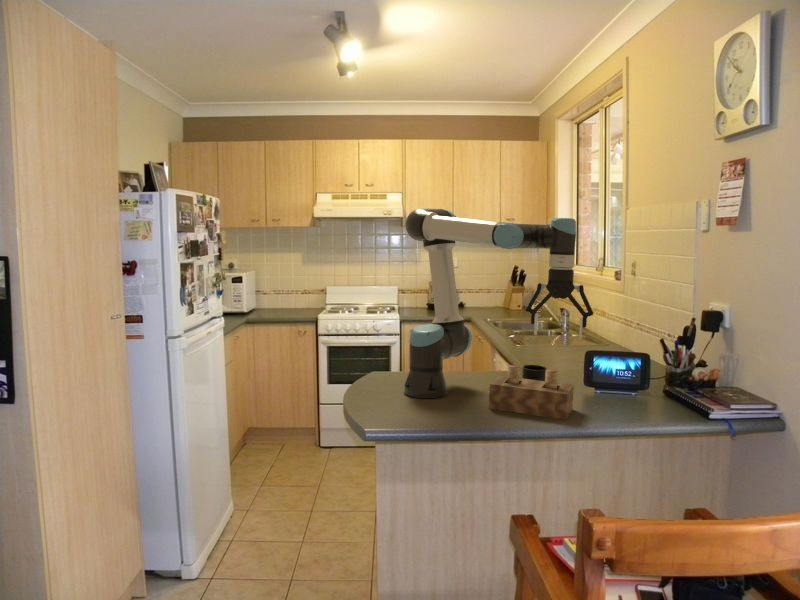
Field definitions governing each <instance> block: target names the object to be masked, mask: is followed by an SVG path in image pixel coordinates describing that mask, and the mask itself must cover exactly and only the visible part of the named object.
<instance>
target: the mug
mask: <svg viewBox="0 0 800 600" xmlns="http://www.w3.org/2000/svg"><path fill="white" fill-rule="evenodd" d="M521 368H522V371H521V373H522V374H521V377H522V378H523V379H531V380H539V381H545V377H546V370H548V369H547V367H545V366H542V365H539V364H538V365H537V364H524V365H523V366H522V367H521Z"/></svg>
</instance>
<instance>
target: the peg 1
mask: <svg viewBox="0 0 800 600" xmlns="http://www.w3.org/2000/svg"><path fill="white" fill-rule="evenodd" d="M507 377H508V384H516V385H519V378H520V366H519V365H508V366H507Z"/></svg>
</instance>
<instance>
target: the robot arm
mask: <svg viewBox="0 0 800 600" xmlns="http://www.w3.org/2000/svg"><path fill="white" fill-rule="evenodd" d="M405 231H406V232H407V234H408V236H409V237H410V238H411V239H413V240H415V241H417V242H422V243H423V245H422V246H423V249H424V250H425V251H426V252H428V259H429V268H430V277H431V278H430V280H431V286H432V287H431V288H432V296H433V305H434V315H435V317H434V318H433V320H432V322H431V323H426V324H420V325H416V326H414V327H412V329H411V330H410V333H409V341H408V342H409V365H408V366H409V369H408V374H407V377H406V380H405V382H404V385H403V392H404V394H405V395H406V396H409V397H412V398H418V399H437V398H442V397H445V396H446V395H448V384H447V381H446V379H445V378H446V377H445V375H444V360H447V359H450V358H456V357H459V356H461V355H463V354H464V355H465V353H467V351H468V350H469V349H470V348H471V345H472V343H473V342H472V340H473V338H472V337H473V336H472V332H471V330H470V328H469V327H468V326H467V325H466V324H465V319H464V318H463V316H461V315H460V314H459V313H460V312H459V311H460V310H459V304H458V295H457V285H456V284H457V283H456V275H455V268H454V258H453V257H454V256H453V248H454V247H455V246H456V242H461V243H468V244H476V245H477V244H478V245H484V246H485V245H486V246H491V247H499V248H502V249H505V250H513V249H547V250H548V249H549V254H548V255H549V256H548V257H549V258H548V260H549V261H548V267H549V269H548V276H547V283H546V284H545V283H542V282H538V283H537V287H536V291H535V293H534V294H533V296H532V297H531V299H530V301H529V303H528V304H527V306H526V308H525V312H527V313H529V314H530V324H531V325H534V327H533V335H534V336H537V335H538V321H539V313H537V312H538V311H539V310H540V309H541V308H542V307H543V306H544V305H545V304H546V303H547V302H548V301H549V300H550V299H551V298H554V299H561V300H562V299H564V300H565V299H567V298H568V300H569V301H570V302H571V304H573V306H574V307H575V308H576V310H577V311H578V312H579V313H580V315H581V316H580V317H579V331H578V333H579V335H578V339H582V336H583V328H584V329H585V328H586V327H587V321H588V320H587V319H588V317H591V316H593V315H594V312H593V309H592V307H591V305H590V303H589V300H588V298H587V295H586V294H585V290H584V285H583V284H578V285H575V284H574V277H575V276H574V275H575V271H574V269H573V268H574V267H575V258H576V256H575V254H576V252H575V251H576V242H577V241H576V240H577V221H576V219H575V218H570V217H554V218H552V219H551V221H550V223H549V224H536V223H534V224H532V223H513V222H504V221H503V222H501V221H494V220H480V219H473V218H472V219H471V218H464V217H463V218H462V217H457V215H456V214H455V213H454V212H452V211H450V210H448V209H447V210H446V209H442V208H427V207H426V208H424V207H422V208H421V207H420V208H416V209H414V210H412V211H411V212H410V213H408V215H407V218H406V220H405ZM544 289H546V290H547V292H548V294H547V295H545V296H544V298H543V299H542V300H541V301H540V302H539V303H538V304H537V305H535V307H534V308H532V307H533V305H534V303H535V302H536V300H537V298H538V297H539V295H540V293H541V292H542V291H544ZM575 290H576V292H577V293H579V295H580V297H581V299H582V302H583V304H584V306H585V308H586V310H587V311H585V309H584V308H583V307H582V306H581V304H580V303H579V302H578V300H577V299H576V298H575V297H574V296H573V294H572V293H573V292H574V291H575Z"/></svg>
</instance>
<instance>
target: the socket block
mask: <svg viewBox="0 0 800 600" xmlns="http://www.w3.org/2000/svg"><path fill="white" fill-rule="evenodd" d="M574 386H575V385H574V384H570V383H561V382H557V390H555V389H547V388H545V381H539V380H531V379H523V378H520V377H519V385H516V384H508V376H505V375H499V376H498V377H496V378H495V379H494V380H493V381H492V382H491V383H489V403H488V409H491V410H498V411H503V412H504V411H505V412H509V413H516V414H517V413H518V414H524V415H532V416H537V417H543V418H550V419H557V420H564V421H567V419H568V418H569V416H570V414H571V413H572V411H573V409H574V408H573V407H574V406H573V405H574V403H573V402H574V390H575V389H574Z"/></svg>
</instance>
